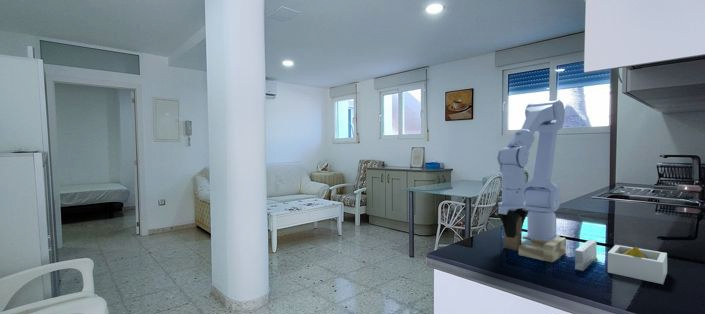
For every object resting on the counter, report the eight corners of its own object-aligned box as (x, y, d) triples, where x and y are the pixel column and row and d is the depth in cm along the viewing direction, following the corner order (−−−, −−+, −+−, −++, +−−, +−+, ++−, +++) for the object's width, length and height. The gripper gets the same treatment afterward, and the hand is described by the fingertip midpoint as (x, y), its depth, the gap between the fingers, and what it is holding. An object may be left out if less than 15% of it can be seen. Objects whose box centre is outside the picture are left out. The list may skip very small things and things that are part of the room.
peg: (509, 245, 93) (509, 215, 93) (521, 248, 90) (521, 217, 90) (503, 247, 91) (504, 216, 91) (516, 250, 88) (516, 218, 88)
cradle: (533, 246, 91) (533, 232, 91) (565, 252, 85) (565, 238, 85) (518, 254, 84) (518, 240, 84) (552, 262, 78) (552, 246, 78)
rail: (589, 256, 82) (589, 239, 82) (596, 258, 81) (596, 240, 81) (575, 269, 74) (575, 250, 74) (582, 270, 73) (582, 251, 73)
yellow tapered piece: (655, 273, 71) (660, 252, 66) (630, 282, 72) (633, 261, 67) (635, 254, 76) (638, 232, 70) (612, 262, 77) (613, 241, 71)
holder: (615, 262, 77) (615, 244, 77) (667, 272, 71) (667, 253, 71) (607, 272, 72) (607, 252, 72) (663, 284, 65) (662, 262, 65)
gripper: (509, 185, 98) (509, 229, 98) (487, 189, 89) (487, 237, 89) (533, 187, 93) (534, 233, 93) (513, 191, 83) (513, 242, 83)
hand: (513, 235), depth 90 cm, fingers closed on peg, 3 cm apart
